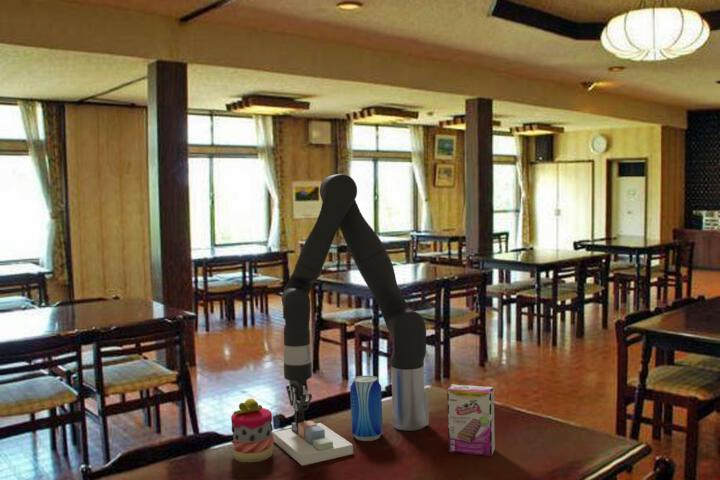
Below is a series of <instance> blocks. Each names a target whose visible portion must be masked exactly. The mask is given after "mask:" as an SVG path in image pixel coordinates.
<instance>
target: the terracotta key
mask: <svg viewBox="0 0 720 480" xmlns="http://www.w3.org/2000/svg"><path fill="white" fill-rule="evenodd" d="M305 421H306V420H305ZM314 426H317V423H315V422H314V421H313V420H307V421H306V422H301V423H298V431H299V437H301V438H302V439H303V440H305V439H306V435H305V428H309V427H314Z"/></svg>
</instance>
